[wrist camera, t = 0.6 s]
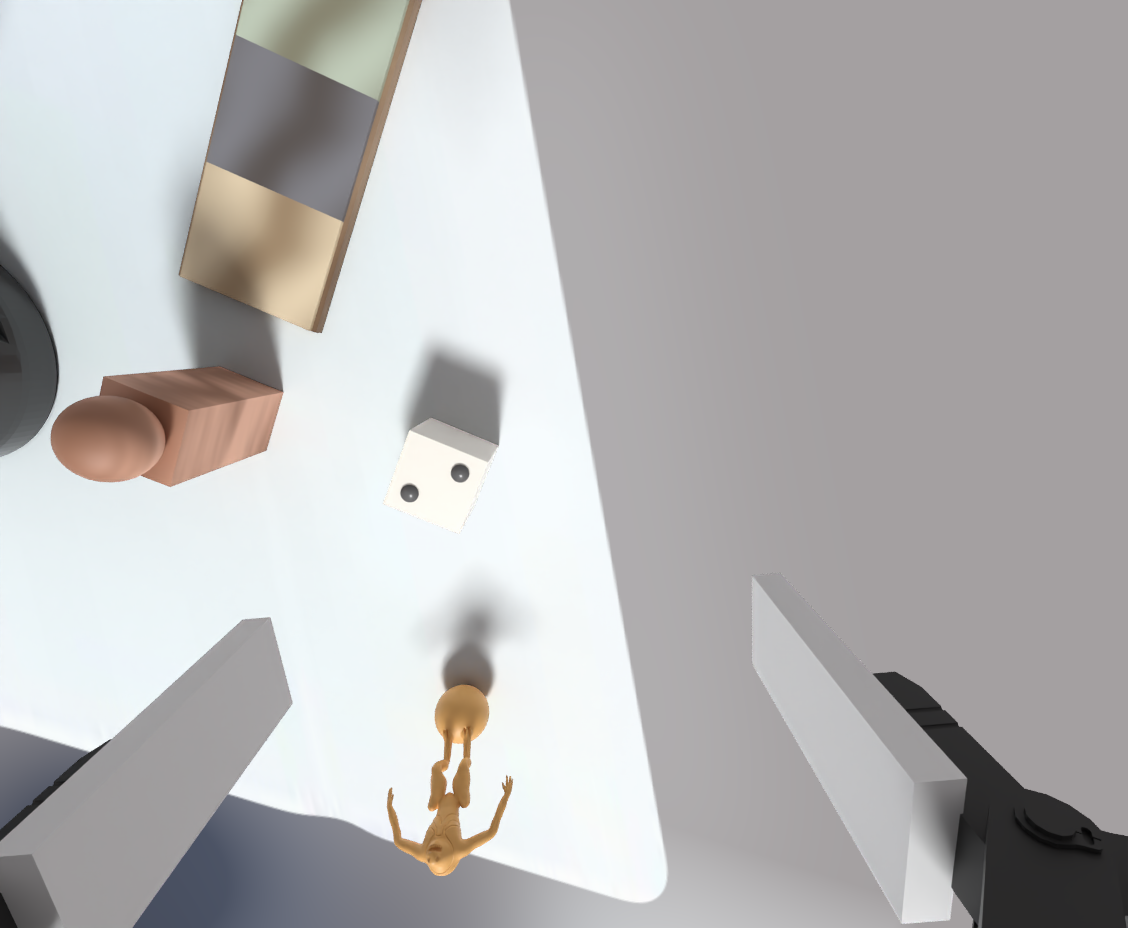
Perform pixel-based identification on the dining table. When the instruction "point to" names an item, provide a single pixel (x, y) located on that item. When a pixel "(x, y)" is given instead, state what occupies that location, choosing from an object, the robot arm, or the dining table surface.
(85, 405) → the pawn
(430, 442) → the die
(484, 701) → the figurine
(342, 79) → the board
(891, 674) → the robot arm
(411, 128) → the dining table surface
